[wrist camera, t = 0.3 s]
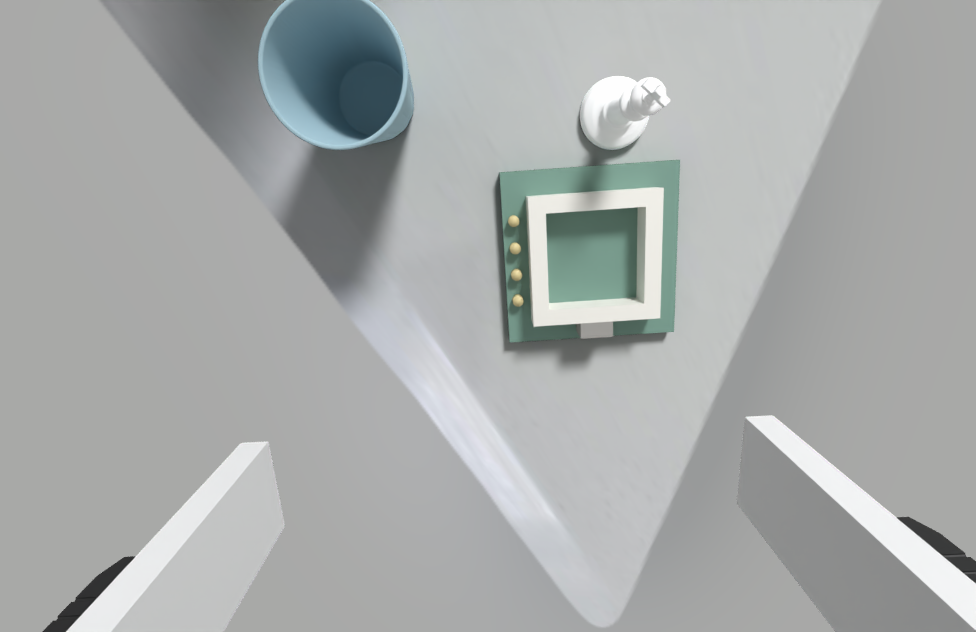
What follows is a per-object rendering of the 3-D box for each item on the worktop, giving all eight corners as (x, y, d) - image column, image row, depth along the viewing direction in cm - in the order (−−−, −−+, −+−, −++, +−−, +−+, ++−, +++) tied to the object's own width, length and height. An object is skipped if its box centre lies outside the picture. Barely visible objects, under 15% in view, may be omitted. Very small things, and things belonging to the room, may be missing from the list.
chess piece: (615, 164, 37) (661, 159, 27) (565, 118, 36) (594, 97, 26) (662, 109, 36) (727, 83, 26) (612, 61, 35) (660, 16, 25)
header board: (499, 172, 37) (500, 172, 34) (674, 160, 37) (691, 158, 34) (509, 338, 40) (510, 350, 37) (669, 327, 40) (683, 339, 37)
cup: (444, 140, 36) (426, 125, 26) (345, 170, 37) (291, 168, 27) (410, 28, 34) (378, -35, 24) (307, 62, 35) (233, 15, 25)
